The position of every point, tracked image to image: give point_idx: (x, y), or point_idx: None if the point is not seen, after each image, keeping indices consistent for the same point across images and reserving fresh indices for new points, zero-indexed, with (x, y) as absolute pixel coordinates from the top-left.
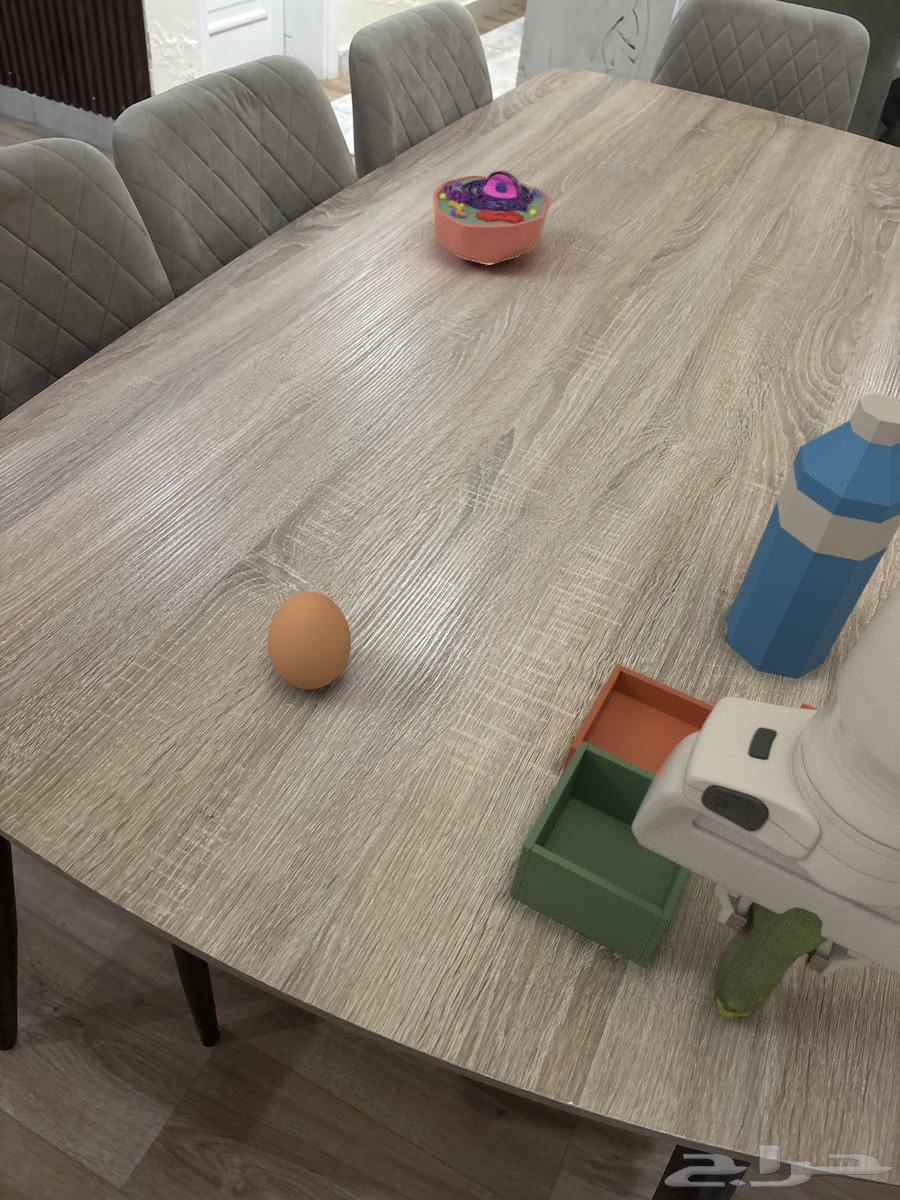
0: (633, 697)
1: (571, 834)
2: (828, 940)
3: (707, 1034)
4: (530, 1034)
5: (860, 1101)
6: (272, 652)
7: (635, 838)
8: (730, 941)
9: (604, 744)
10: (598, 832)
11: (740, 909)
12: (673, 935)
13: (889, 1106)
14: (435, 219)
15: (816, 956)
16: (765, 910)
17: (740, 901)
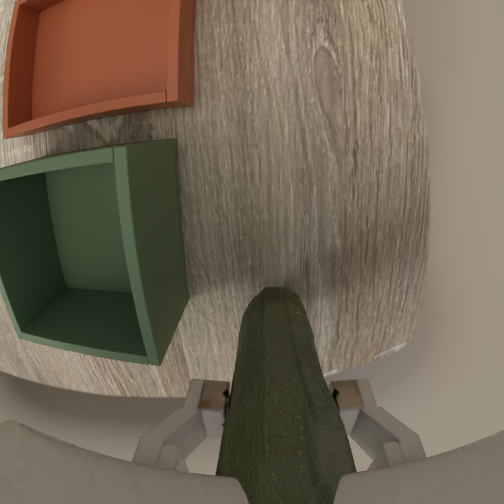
0: (56, 3)
1: (63, 208)
2: (351, 416)
3: None
4: (144, 374)
5: (400, 313)
6: None
7: (112, 168)
8: (239, 335)
9: (46, 77)
10: (80, 187)
11: (211, 430)
12: (199, 253)
13: (421, 304)
14: None
15: None
16: None
17: (206, 422)
